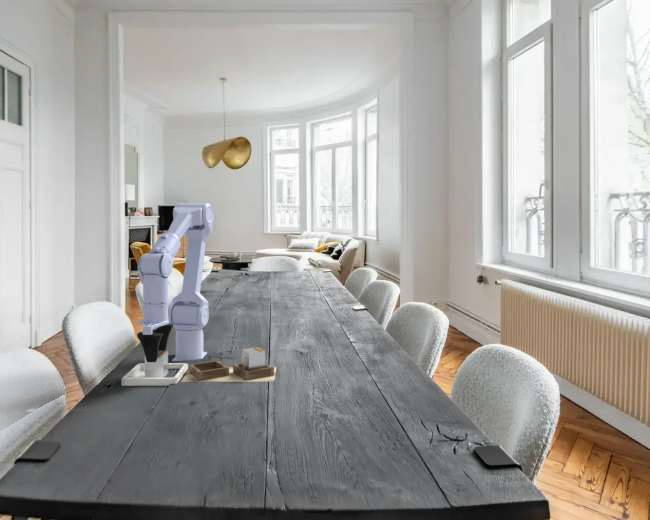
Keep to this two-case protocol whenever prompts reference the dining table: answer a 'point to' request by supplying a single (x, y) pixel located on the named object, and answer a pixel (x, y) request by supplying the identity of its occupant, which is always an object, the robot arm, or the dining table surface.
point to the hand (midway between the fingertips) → (156, 357)
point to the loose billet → (157, 366)
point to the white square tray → (138, 378)
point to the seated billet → (253, 359)
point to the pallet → (229, 378)
